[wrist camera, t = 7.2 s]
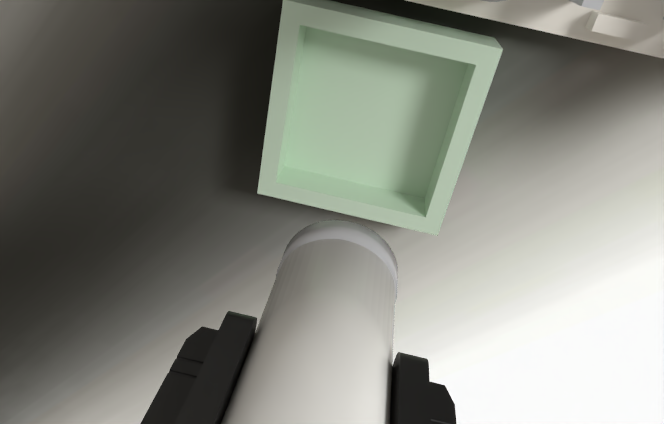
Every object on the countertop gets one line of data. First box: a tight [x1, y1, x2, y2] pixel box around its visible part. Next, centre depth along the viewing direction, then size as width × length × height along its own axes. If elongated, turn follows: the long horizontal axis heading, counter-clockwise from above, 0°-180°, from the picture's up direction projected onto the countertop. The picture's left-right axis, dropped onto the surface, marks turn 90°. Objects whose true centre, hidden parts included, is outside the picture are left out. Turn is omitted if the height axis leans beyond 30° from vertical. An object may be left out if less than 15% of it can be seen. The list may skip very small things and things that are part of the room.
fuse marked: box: [221, 220, 398, 424], centre depth 12 cm, size 4×4×10 cm
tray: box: [257, 0, 503, 236], centre depth 29 cm, size 11×11×3 cm
